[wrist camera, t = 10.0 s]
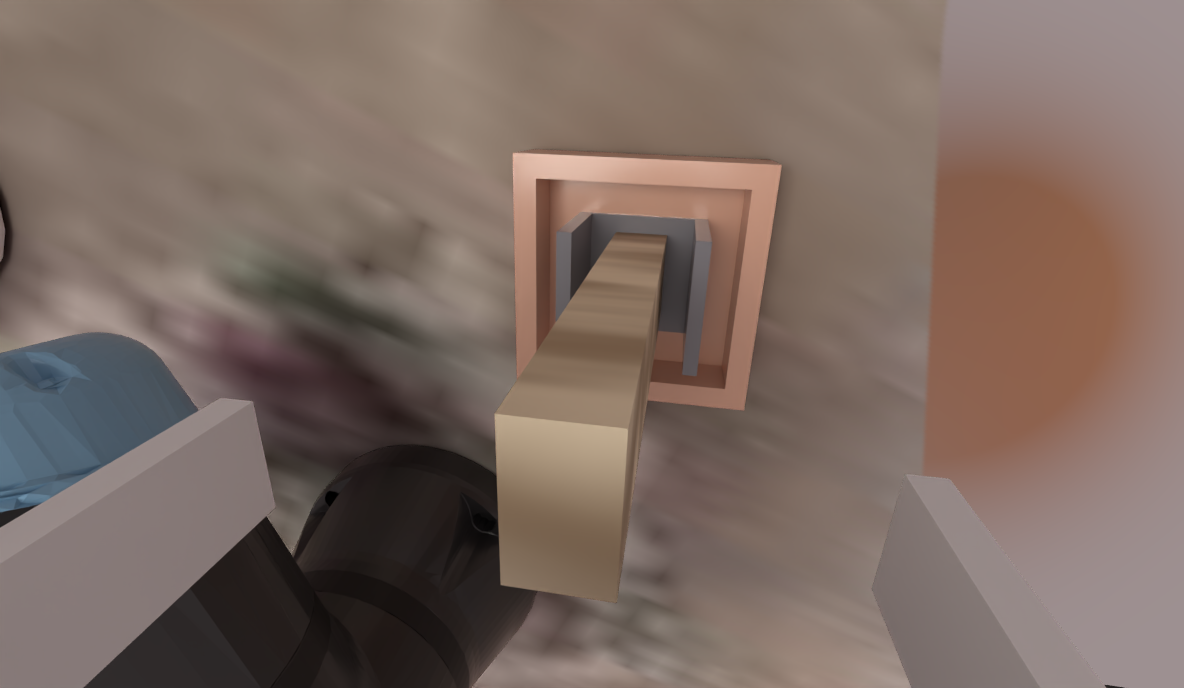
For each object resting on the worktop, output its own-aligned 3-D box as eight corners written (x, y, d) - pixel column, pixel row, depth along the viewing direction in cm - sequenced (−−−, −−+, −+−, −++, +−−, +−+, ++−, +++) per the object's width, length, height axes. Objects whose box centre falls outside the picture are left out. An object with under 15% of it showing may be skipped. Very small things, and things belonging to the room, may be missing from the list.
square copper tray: (737, 378, 29) (749, 439, 24) (534, 359, 31) (500, 411, 25) (769, 159, 25) (792, 170, 20) (534, 149, 27) (492, 156, 21)
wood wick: (660, 315, 28) (616, 603, 11) (612, 311, 28) (500, 585, 11) (667, 235, 26) (628, 429, 10) (616, 231, 26) (494, 413, 10)
